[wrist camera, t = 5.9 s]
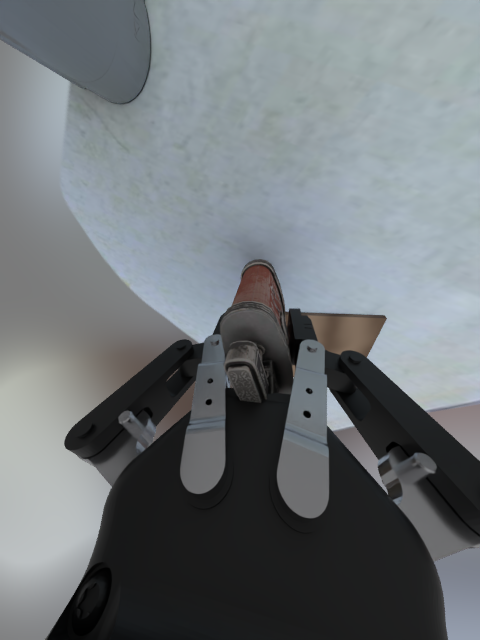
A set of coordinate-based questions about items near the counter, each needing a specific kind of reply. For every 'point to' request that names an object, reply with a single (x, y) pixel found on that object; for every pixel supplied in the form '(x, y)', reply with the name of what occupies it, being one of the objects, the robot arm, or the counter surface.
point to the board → (345, 331)
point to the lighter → (257, 336)
